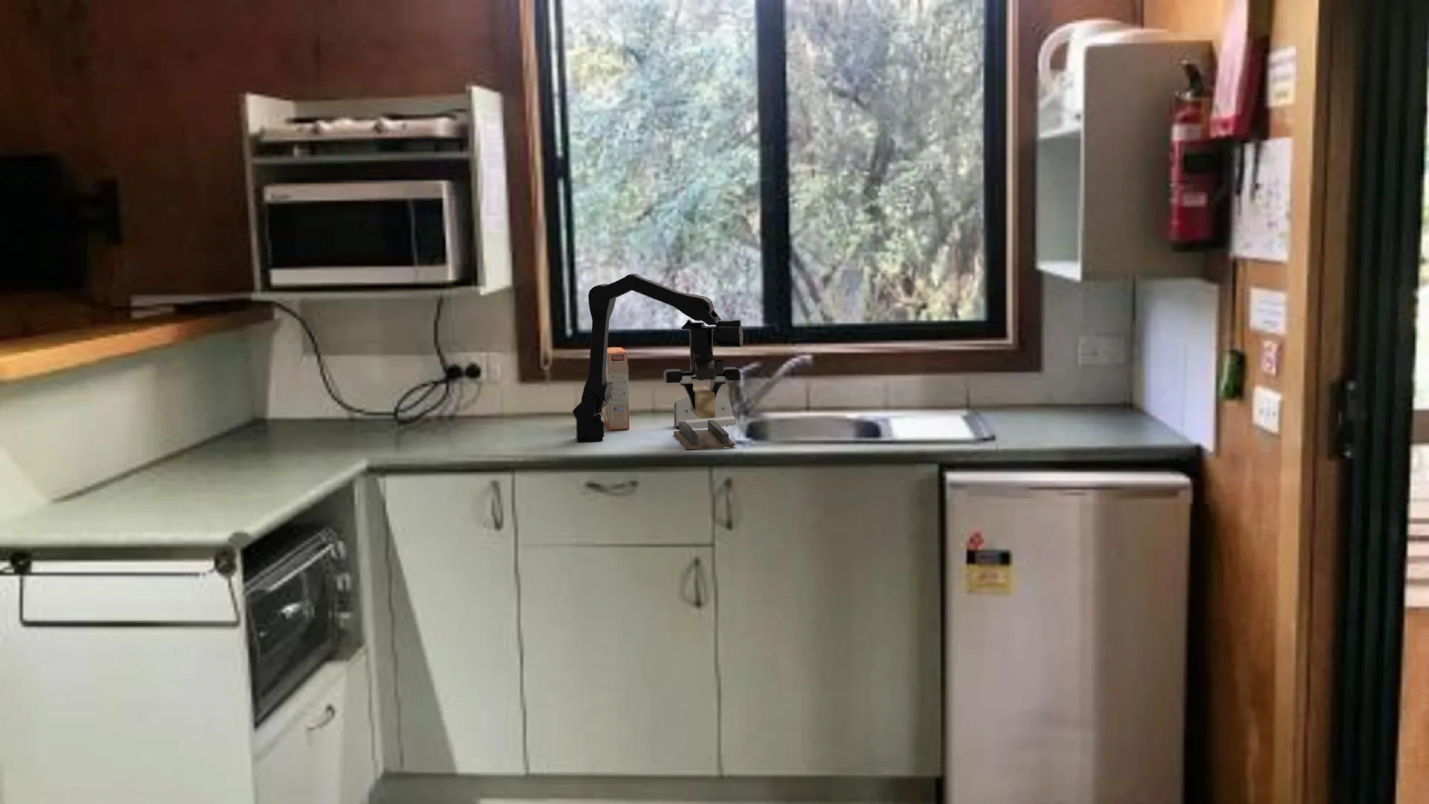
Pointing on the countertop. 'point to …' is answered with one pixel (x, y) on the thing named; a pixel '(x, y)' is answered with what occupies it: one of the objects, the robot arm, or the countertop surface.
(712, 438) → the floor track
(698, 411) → the wooden block
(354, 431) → the countertop surface
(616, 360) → the cracker box
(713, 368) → the robot arm
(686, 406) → the grey upright panel
